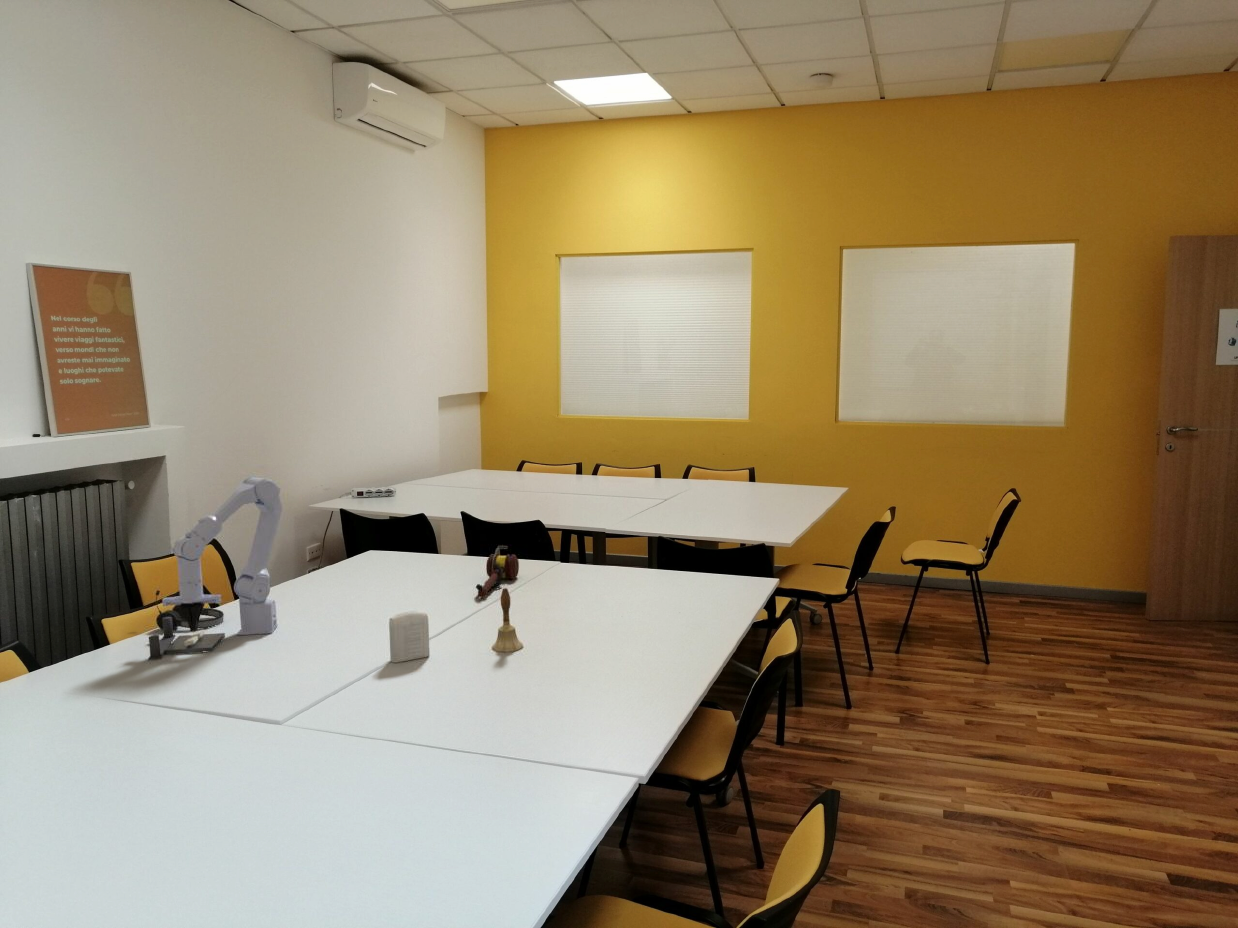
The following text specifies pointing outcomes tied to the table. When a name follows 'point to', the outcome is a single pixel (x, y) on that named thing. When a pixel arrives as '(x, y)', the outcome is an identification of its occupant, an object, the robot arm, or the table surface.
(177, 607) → the headset
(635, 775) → the table surface
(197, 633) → the paddle
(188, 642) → the paddle
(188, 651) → the switch panel
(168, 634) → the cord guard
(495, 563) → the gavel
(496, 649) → the hand bell
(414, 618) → the engraved stone tablet
